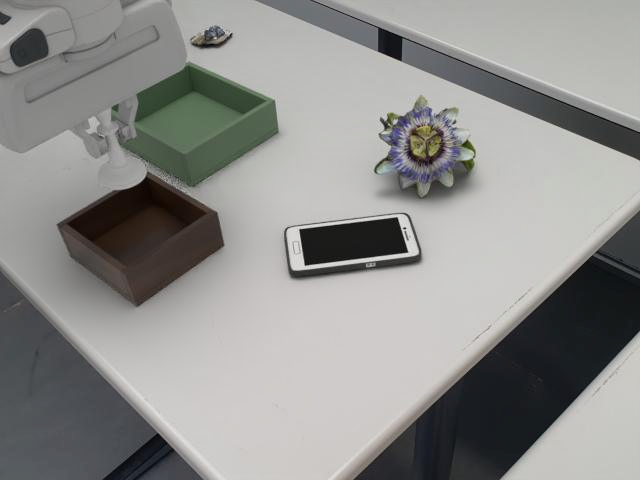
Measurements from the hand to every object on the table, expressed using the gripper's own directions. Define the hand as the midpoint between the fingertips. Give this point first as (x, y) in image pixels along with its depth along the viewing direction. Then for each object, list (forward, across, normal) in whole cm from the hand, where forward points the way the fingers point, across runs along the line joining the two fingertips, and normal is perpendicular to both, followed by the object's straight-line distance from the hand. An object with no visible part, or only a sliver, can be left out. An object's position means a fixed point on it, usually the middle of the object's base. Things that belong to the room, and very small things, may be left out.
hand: (112, 146), depth 69 cm
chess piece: (+4, 0, 0) cm, 4 cm away
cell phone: (+14, -15, +18) cm, 27 cm away
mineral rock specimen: (+14, -40, -34) cm, 54 cm away
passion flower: (+14, -31, +16) cm, 38 cm away
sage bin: (+14, -19, -14) cm, 27 cm away
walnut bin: (+14, 0, 0) cm, 14 cm away
